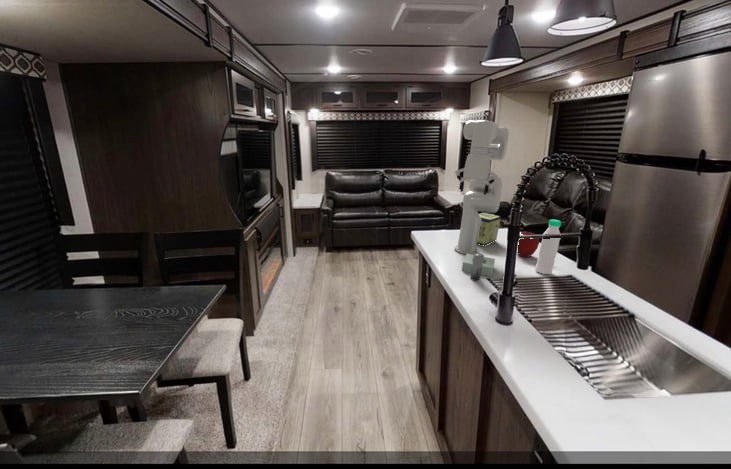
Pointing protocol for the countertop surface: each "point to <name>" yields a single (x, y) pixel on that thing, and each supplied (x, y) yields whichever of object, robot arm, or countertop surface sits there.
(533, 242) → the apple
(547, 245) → the water bottle
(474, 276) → the peg
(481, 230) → the protein box
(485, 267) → the socket block
